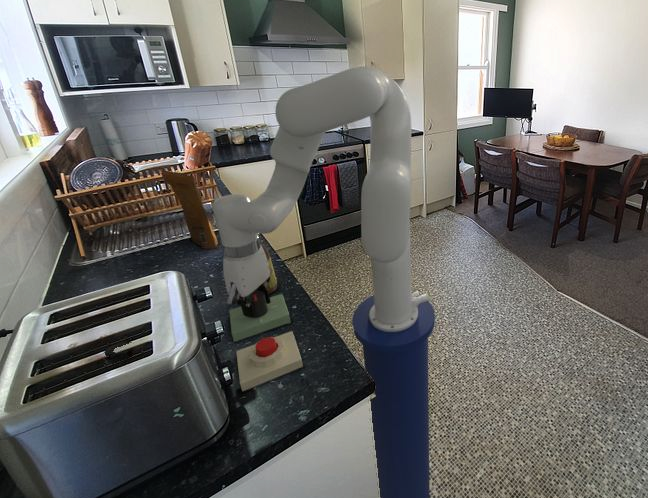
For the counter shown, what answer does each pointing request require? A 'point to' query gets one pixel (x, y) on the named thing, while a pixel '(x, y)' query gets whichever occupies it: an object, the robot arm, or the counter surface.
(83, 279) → the counter surface
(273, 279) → the sauce bottle
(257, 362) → the button housing
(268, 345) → the button
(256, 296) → the dial
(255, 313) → the robot arm
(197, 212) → the pancake mix bag
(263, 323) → the dial panel
